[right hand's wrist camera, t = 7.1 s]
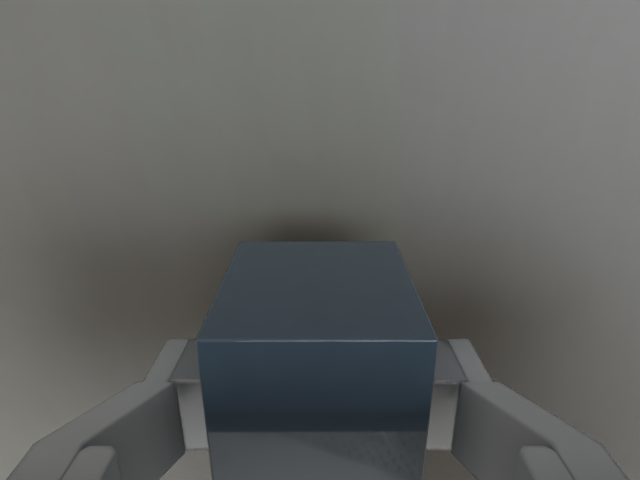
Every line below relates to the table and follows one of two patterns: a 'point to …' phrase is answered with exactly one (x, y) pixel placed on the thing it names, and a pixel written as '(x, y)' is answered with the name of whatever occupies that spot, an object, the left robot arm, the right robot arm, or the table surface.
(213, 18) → the table surface
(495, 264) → the table surface
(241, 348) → the block
